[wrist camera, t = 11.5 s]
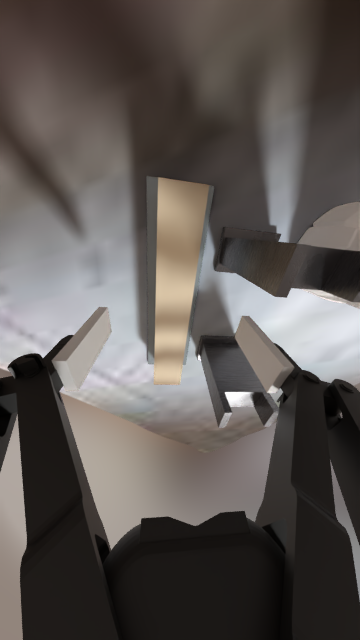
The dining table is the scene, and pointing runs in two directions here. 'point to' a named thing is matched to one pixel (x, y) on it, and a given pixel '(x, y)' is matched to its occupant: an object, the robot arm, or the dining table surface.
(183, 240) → the rail
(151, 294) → the mat
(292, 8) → the dining table surface
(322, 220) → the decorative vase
